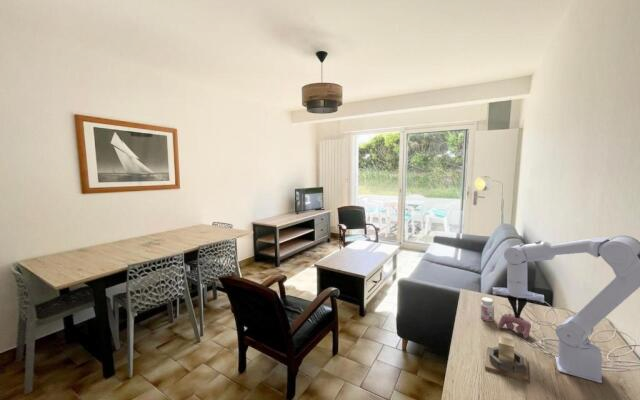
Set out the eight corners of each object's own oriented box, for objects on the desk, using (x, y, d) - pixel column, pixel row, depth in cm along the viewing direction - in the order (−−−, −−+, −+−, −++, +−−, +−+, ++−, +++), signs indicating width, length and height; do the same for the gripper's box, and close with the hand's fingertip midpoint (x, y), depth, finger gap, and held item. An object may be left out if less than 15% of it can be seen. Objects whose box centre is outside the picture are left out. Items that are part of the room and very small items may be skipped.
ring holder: (527, 360, 88) (527, 351, 88) (528, 382, 79) (528, 373, 79) (487, 349, 94) (487, 341, 94) (485, 369, 85) (484, 360, 85)
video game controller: (530, 340, 100) (533, 320, 101) (526, 339, 98) (529, 319, 99) (500, 328, 108) (503, 311, 109) (496, 327, 106) (499, 310, 107)
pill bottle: (481, 320, 112) (480, 300, 112) (480, 314, 117) (480, 296, 116) (494, 322, 110) (494, 302, 109) (493, 316, 114) (493, 297, 114)
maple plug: (513, 360, 87) (513, 339, 86) (514, 367, 84) (514, 346, 83) (499, 356, 89) (498, 336, 89) (498, 363, 86) (498, 342, 85)
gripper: (542, 279, 93) (542, 316, 94) (493, 272, 101) (493, 307, 103) (544, 286, 87) (544, 326, 89) (492, 279, 96) (492, 315, 97)
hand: (517, 316), depth 95 cm, fingers closed
